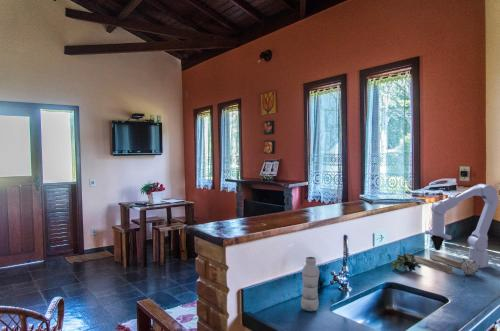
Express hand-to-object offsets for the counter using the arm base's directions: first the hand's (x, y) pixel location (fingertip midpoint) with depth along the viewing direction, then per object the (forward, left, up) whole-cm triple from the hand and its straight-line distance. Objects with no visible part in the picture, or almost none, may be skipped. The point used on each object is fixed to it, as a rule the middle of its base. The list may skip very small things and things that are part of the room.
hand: (437, 249), depth 200 cm
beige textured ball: (+2, +19, -8) cm, 21 cm away
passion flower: (+27, +3, -8) cm, 29 cm away
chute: (+1, +3, -8) cm, 8 cm away
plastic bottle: (+97, +21, -8) cm, 100 cm away
